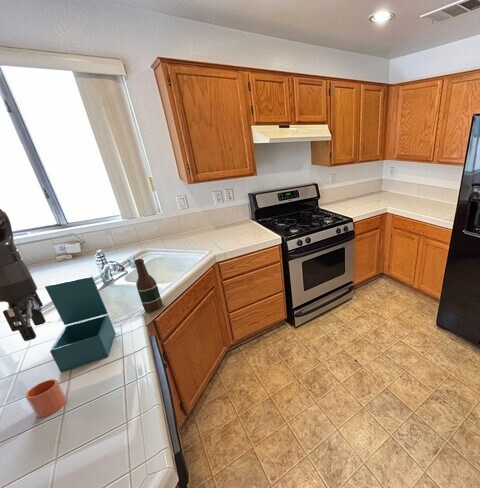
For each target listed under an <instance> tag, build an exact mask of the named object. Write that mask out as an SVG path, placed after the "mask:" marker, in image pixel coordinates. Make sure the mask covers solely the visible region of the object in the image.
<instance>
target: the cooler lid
mask: <svg viewBox="0 0 480 488" xmlns="http://www.w3.org/2000/svg"><path fill="white" fill-rule="evenodd" d="M44 288H45V290H46V293H47V294H48V295H49V298H50V300H51V302H52V304H53V305H54V307H55V310H56V311H57V314H58V316H59V317H60V319H61V321H62V323H63V325H64V326H67V325H71V324H74V323H78V322H82V321H85V320H89V319H93V318H96V317H100V316H104V315H107V314H108V309H107V307H106V305H105V302H104V300H103V298H102V296H101V294H100V290H99V289H98V286H97V284H96V281H95V279H94V276H93V275H90V276H89V275H88V276H84V277H78V278H73V279H70V280H65V281H63V282H62V281H61V282H58V283H57V282H56V283H52V284H48V285H44ZM108 315H109V314H108Z"/></svg>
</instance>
